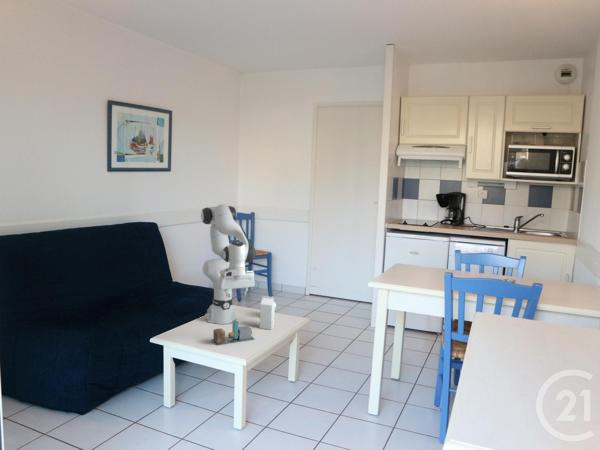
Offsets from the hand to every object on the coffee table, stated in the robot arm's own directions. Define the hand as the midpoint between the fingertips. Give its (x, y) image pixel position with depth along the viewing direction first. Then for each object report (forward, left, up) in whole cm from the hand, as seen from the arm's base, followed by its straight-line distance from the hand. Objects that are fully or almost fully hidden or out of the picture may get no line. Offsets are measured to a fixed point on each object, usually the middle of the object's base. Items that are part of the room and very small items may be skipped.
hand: (236, 296), depth 263 cm
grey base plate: (0, -2, -25) cm, 25 cm away
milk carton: (-12, +25, -25) cm, 38 cm away
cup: (-29, +34, -25) cm, 52 cm away
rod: (0, +3, -24) cm, 24 cm away
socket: (0, -9, -25) cm, 26 cm away
